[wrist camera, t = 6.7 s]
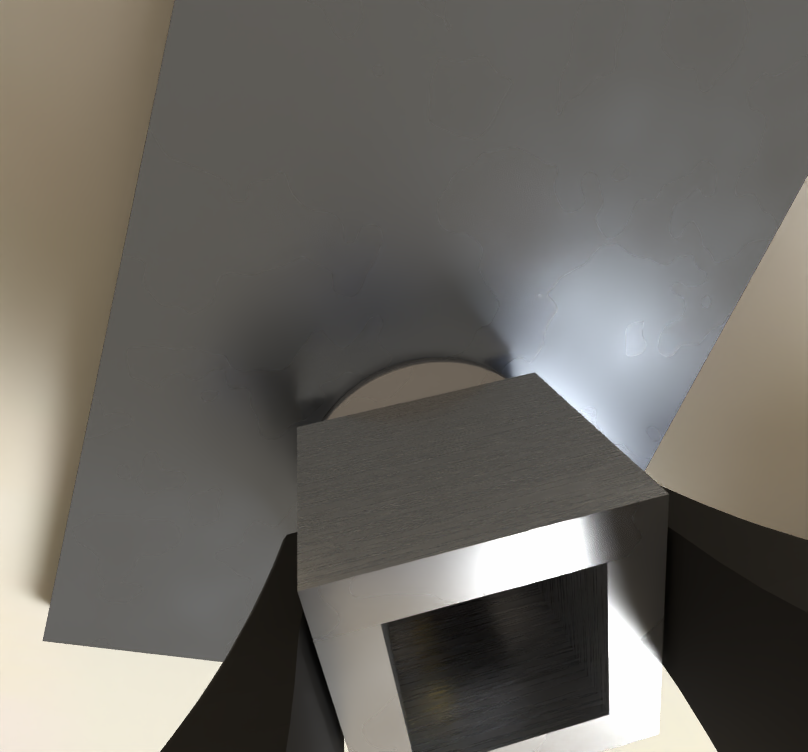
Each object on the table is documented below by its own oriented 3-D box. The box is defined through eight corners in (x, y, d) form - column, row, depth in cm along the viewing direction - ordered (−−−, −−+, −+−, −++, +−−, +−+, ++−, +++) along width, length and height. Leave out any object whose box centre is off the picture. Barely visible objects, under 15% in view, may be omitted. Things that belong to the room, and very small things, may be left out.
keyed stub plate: (842, 46, 13) (1096, -11, 9) (509, 670, 19) (569, 815, 14) (256, -321, 9) (221, -731, 5) (58, 610, 15) (-37, 786, 10)
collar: (535, 372, 13) (669, 494, 8) (547, 557, 15) (659, 734, 10) (297, 427, 12) (297, 591, 8) (347, 610, 14) (371, 823, 10)
